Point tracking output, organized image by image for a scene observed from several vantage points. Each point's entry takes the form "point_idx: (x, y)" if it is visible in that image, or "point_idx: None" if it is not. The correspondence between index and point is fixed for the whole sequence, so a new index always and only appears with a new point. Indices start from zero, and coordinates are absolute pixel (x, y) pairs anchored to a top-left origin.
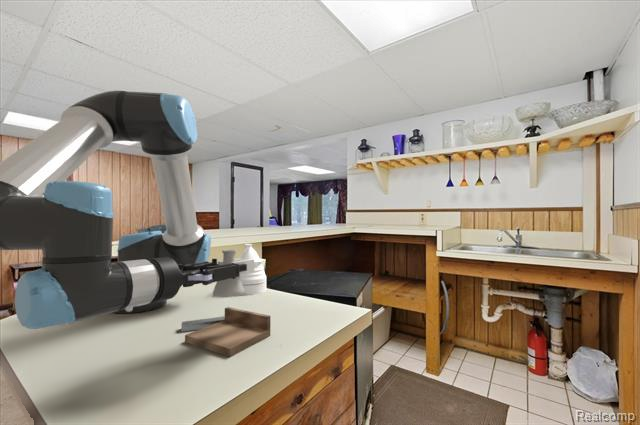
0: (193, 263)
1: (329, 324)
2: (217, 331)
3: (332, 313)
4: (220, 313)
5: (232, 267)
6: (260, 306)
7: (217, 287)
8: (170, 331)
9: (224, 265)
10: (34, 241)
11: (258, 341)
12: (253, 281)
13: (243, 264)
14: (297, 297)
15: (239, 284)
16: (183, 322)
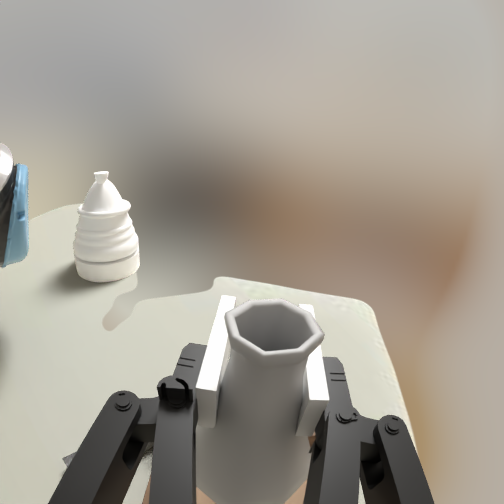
0: (75, 458)
1: (367, 363)
2: (203, 501)
3: (334, 325)
4: (106, 373)
5: (415, 466)
6: (174, 327)
7: (241, 491)
8: (53, 481)
9: (358, 473)
10: None
11: None
12: (121, 254)
13: (333, 369)
14: (219, 280)
15: None
16: (68, 462)
